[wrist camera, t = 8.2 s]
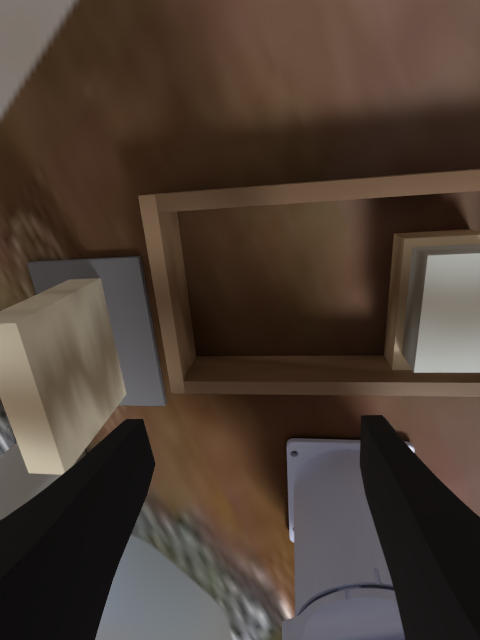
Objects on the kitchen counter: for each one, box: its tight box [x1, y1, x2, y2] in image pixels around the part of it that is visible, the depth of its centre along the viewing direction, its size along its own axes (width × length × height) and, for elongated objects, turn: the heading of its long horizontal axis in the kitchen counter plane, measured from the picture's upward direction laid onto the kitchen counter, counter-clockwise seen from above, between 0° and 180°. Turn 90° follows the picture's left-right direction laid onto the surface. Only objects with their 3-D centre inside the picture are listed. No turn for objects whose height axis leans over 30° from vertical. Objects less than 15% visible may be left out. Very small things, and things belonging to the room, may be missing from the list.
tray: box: [138, 169, 480, 397], centre depth 18 cm, size 11×19×3 cm, turn 94°
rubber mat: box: [27, 256, 167, 406], centre depth 23 cm, size 10×7×1 cm
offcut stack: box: [384, 229, 480, 373], centre depth 18 cm, size 7×4×4 cm, turn 5°
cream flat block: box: [0, 278, 126, 475], centre depth 19 cm, size 8×2×7 cm, turn 4°
